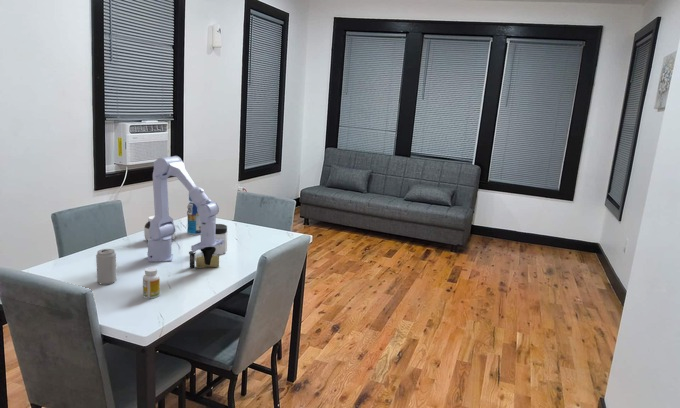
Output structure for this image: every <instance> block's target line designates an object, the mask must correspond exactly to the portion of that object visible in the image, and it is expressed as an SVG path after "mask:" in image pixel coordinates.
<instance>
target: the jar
mask: <svg viewBox="0 0 680 408" xmlns="http://www.w3.org/2000/svg"><path fill="white" fill-rule="evenodd" d="M216 239H223V240H224V244H222V245H221V244H220V245H216V246H215V248H216V251H215V252H214V254H213V255H214V256H216V255H225V254H226V252H227V251H228V225H226V224H223V223H216V232H215V240H216Z"/></svg>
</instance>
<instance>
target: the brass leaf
mask: <svg viewBox="0 0 680 408" xmlns="http://www.w3.org/2000/svg"><path fill="white" fill-rule="evenodd" d="M217 267H220V254H218V255H214V254H213V256H212V258H211V263H210V265H207V264H205V259H204V256H203V255H201V256H195V268H196V269H201V268H204V269H205V268H217Z"/></svg>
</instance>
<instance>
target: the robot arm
mask: <svg viewBox="0 0 680 408" xmlns="http://www.w3.org/2000/svg"><path fill="white" fill-rule="evenodd" d="M152 171H153V172H152V186H153V203H154V204H153V205H154V209H153V210H154V216H155V217H154V218H153V219H152V220H151V222H150V228H149V235H150V237H151V239H148V241H147V252H146V253H147V254H146V255H147V262H149V263H150V262H172V261H173V255H174V254H173V253H172V240H171V237H172V235H173V234H176V233H175V232H176V226H175V222H174V218H172V216H170V213H169V192H168V190H169V188H168V178H169V177H175V178H177V179H178V180H179V182H180V183H181V184H182V185H183V186H184V187H185V189H187V191H188V198H189V197H190V198H191V200H192V201H193V202H194V204H195V205H196V206H197V208H198V209H199V210H198V215H199V216H200V221H201V234H200V242H197V243H195V244H193V245H191V246H190V250H191V251H194V252H196V251H199V250H200V251H201V253H202V256H204V259H205V264H207V265H210V263H211V258H212V256H213V255H214V252H215V251H216V248H215V246H216V245H220V244H221V245H222V244H224V240H223V239H216V240H215V232H216V224H217V223H216V222H217V220H216V219H217V218H216V217H217V216H218V214H219V212H220V211H219V210H220V208H219V207H220V206H219V205H218V204H217V202H215V201H213V200H211V198H210V197H208V195H207V194H206V192H205V189H204V188H202V187H200V186H197V184H196V183H195V182H194V180H193V179H192V178H191V176H190V174H189V173H188V171H187V169H186V167H185V162H184V161H183V160H182V158H181V157H180V156H178V155H173V156H166V157H158V158H156V159H155V160H154V162H153V170H152Z"/></svg>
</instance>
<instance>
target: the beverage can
mask: <svg viewBox="0 0 680 408" xmlns="http://www.w3.org/2000/svg"><path fill="white" fill-rule="evenodd" d="M116 255H117V253H116V252H115V249H112V248H103V249H99V250H97V253H96V255H95V256H96V257H95V258H96V278H97V279H96V281H97V283H99V284H100V283H101V284H100V285H103V284H108V285H112V284H114V283H115V282H117V256H116ZM113 282H114V283H113ZM111 283H112V284H111Z"/></svg>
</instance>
